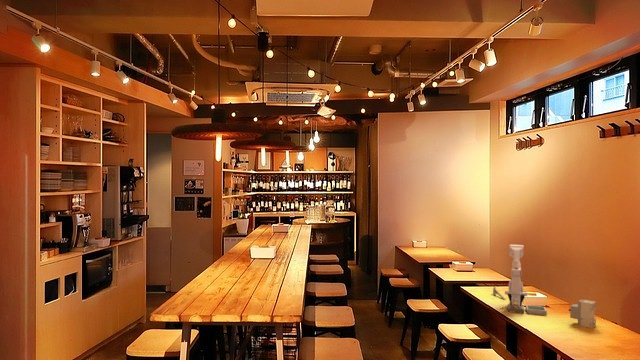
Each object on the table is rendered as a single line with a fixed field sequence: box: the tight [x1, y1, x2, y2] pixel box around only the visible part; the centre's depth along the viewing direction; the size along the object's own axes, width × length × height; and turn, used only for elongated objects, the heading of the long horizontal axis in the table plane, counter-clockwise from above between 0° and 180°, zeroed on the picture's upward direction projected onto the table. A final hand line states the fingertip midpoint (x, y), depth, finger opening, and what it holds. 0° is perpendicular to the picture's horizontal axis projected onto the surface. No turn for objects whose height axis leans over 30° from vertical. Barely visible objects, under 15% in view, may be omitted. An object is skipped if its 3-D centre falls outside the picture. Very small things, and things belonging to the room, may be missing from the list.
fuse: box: [513, 298, 518, 308], centre depth 334 cm, size 3×3×8 cm
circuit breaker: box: [568, 299, 597, 329], centre depth 303 cm, size 8×14×15 cm, turn 45°
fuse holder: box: [507, 303, 525, 314], centre depth 334 cm, size 12×10×2 cm
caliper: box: [492, 286, 507, 301], centre depth 375 cm, size 20×1×6 cm, turn 5°
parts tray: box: [525, 304, 548, 316], centre depth 330 cm, size 12×12×3 cm
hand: (515, 305), depth 334 cm, fingers open, 6 cm apart
